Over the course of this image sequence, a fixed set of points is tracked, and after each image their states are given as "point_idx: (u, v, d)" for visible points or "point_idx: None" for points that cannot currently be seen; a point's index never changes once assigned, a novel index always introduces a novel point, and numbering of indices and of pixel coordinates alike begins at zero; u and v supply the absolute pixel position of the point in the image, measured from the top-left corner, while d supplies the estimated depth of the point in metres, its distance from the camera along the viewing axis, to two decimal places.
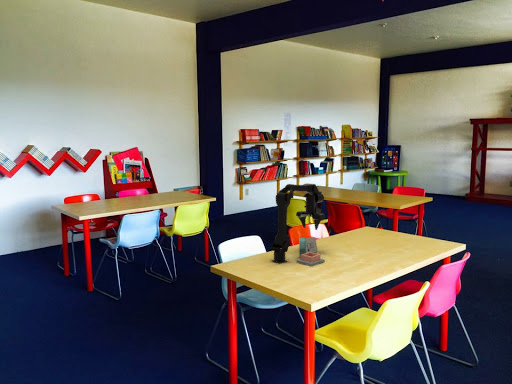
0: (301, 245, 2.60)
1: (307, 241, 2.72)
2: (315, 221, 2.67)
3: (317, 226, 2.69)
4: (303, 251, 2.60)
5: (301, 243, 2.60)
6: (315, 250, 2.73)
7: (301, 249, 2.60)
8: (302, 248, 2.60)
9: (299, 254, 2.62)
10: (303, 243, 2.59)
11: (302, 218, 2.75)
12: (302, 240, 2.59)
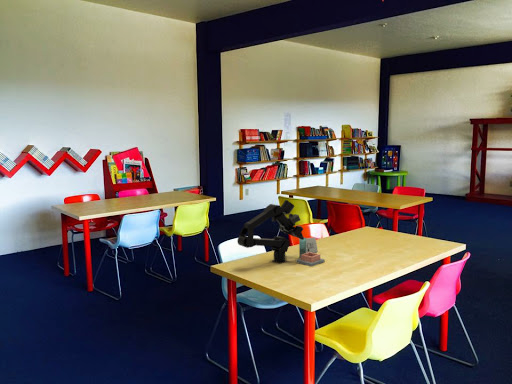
0: (301, 245, 2.60)
1: (307, 241, 2.72)
2: (295, 236, 2.52)
3: (302, 237, 2.54)
4: (303, 251, 2.60)
5: (301, 243, 2.60)
6: (315, 250, 2.73)
7: (301, 249, 2.60)
8: (302, 248, 2.60)
9: (299, 254, 2.62)
10: (303, 243, 2.59)
11: (287, 231, 2.62)
12: (302, 240, 2.59)
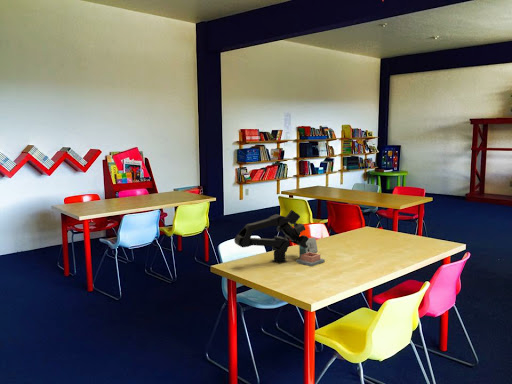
0: None
1: (307, 241, 2.72)
2: None
3: (305, 245, 2.59)
4: (303, 251, 2.60)
5: None
6: (315, 250, 2.73)
7: (301, 249, 2.60)
8: (302, 248, 2.60)
9: (299, 254, 2.62)
10: None
11: (294, 241, 2.62)
12: None
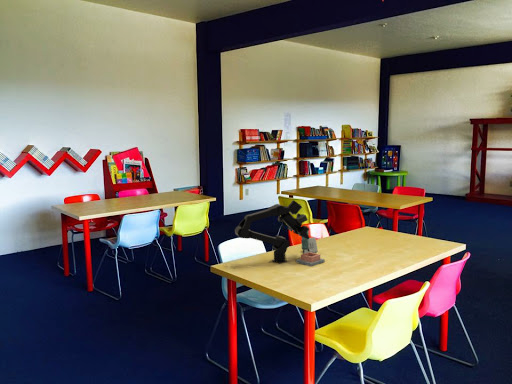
0: None
1: None
2: None
3: (307, 236, 2.56)
4: (305, 242, 2.58)
5: None
6: (315, 250, 2.73)
7: (303, 240, 2.58)
8: (304, 238, 2.57)
9: None
10: None
11: (297, 232, 2.60)
12: None
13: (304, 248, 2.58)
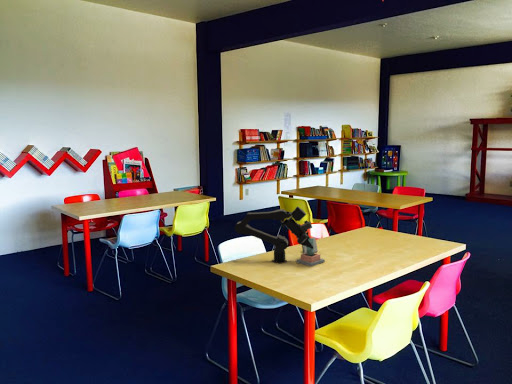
0: None
1: None
2: None
3: (310, 245, 2.47)
4: (309, 253, 2.51)
5: None
6: (315, 250, 2.73)
7: (307, 250, 2.51)
8: (307, 249, 2.51)
9: None
10: None
11: None
12: None
13: None
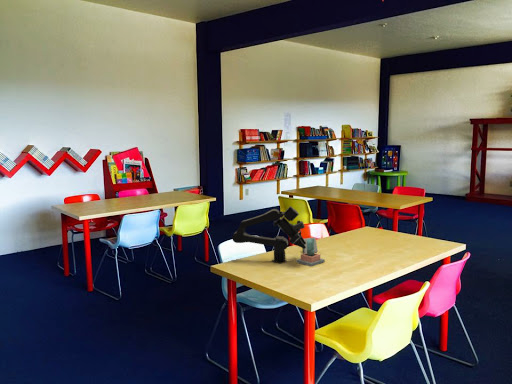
0: (307, 246, 2.51)
1: None
2: None
3: (302, 245, 2.47)
4: (309, 253, 2.51)
5: (307, 244, 2.51)
6: (315, 250, 2.73)
7: (307, 250, 2.51)
8: (308, 249, 2.51)
9: (307, 255, 2.54)
10: (309, 244, 2.50)
11: None
12: (308, 241, 2.50)
13: None
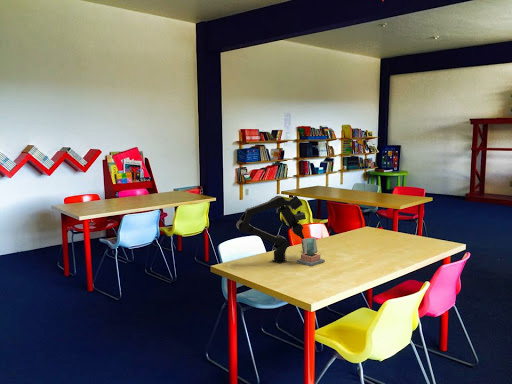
0: (307, 246, 2.51)
1: None
2: (295, 233, 2.50)
3: (302, 235, 2.51)
4: (309, 253, 2.51)
5: (307, 244, 2.51)
6: (315, 250, 2.73)
7: (307, 250, 2.51)
8: (308, 249, 2.51)
9: (307, 255, 2.54)
10: (309, 244, 2.50)
11: (292, 227, 2.61)
12: (308, 241, 2.50)
13: None
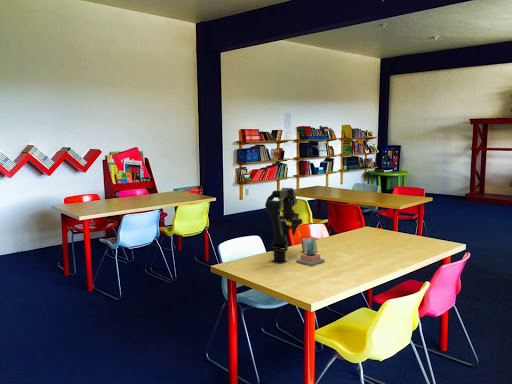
0: (307, 246, 2.51)
1: None
2: (292, 226, 2.61)
3: (294, 231, 2.64)
4: (309, 253, 2.51)
5: (307, 244, 2.51)
6: (315, 250, 2.73)
7: (307, 250, 2.51)
8: (308, 249, 2.51)
9: (307, 255, 2.54)
10: (309, 244, 2.50)
11: None
12: (308, 241, 2.50)
13: None
